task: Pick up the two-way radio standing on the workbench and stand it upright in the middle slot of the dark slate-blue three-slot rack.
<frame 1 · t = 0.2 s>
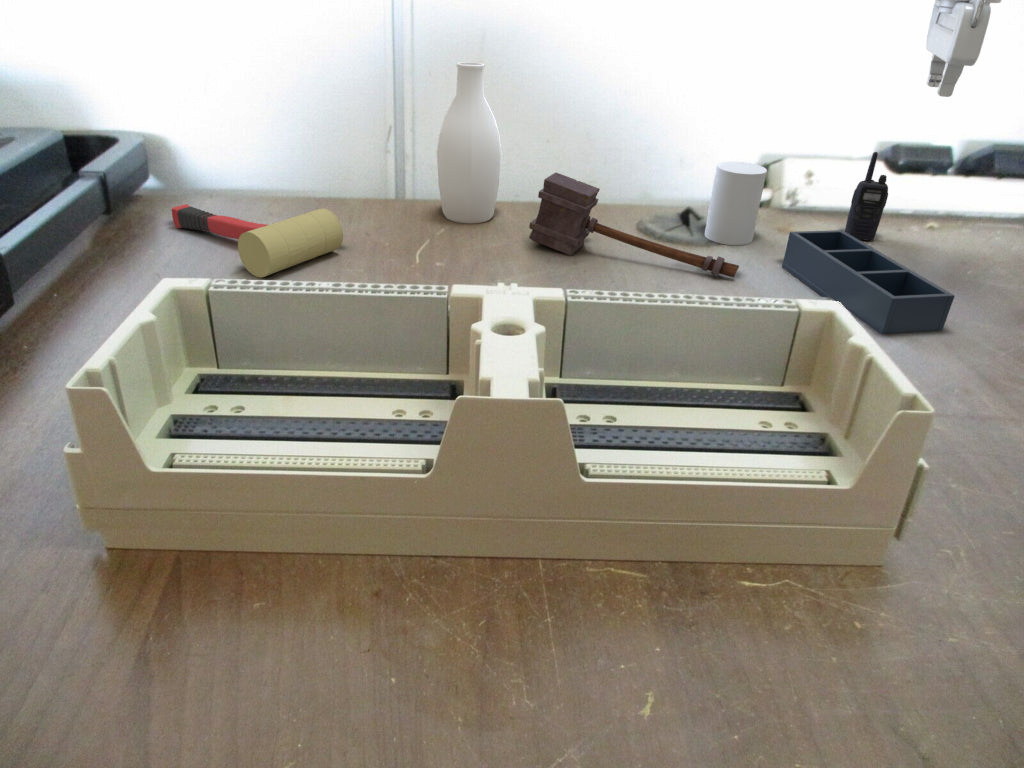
hand: (937, 91, 114), 26 cm above the table, tool pointing down, fingers open, 8 cm apart
two-way radio: (857, 238, 136), on the table
bottle: (468, 217, 137), on the table
rack: (854, 298, 111), on the table
hammer: (630, 261, 121), on the table
white cylinder: (728, 238, 133), on the table
mallet: (242, 246, 120), on the table
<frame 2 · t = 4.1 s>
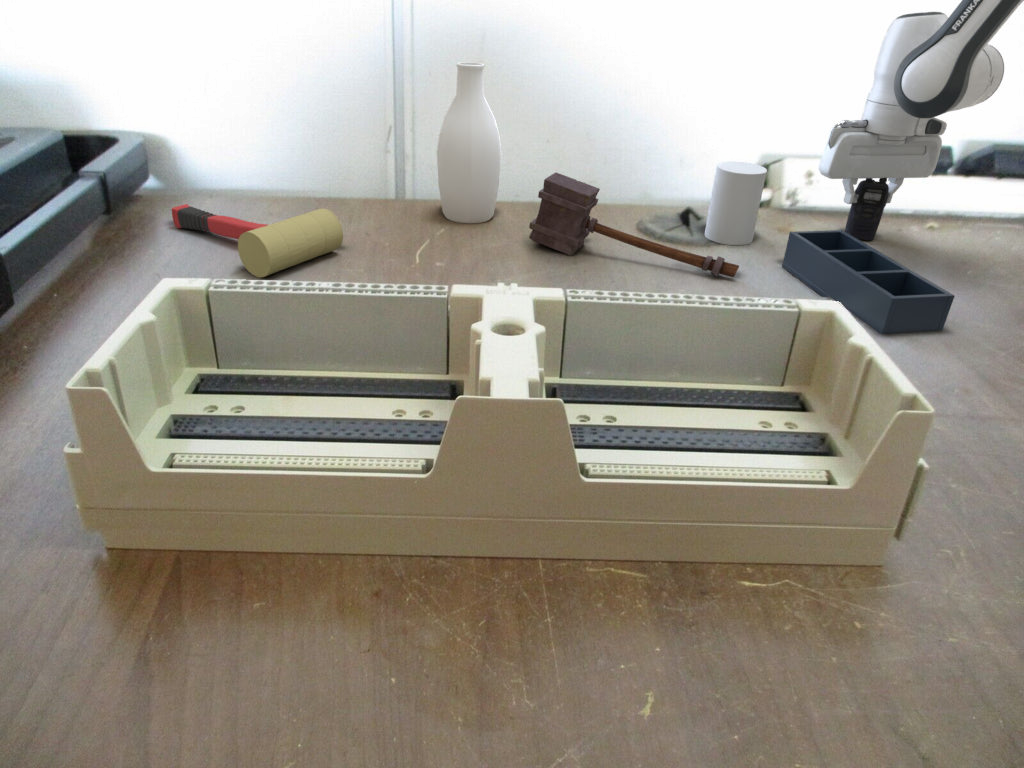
hand: (866, 202, 133), 6 cm above the table, tool pointing down, fingers closed on two-way radio, 5 cm apart
two-way radio: (857, 238, 136), on the table, touching gripper
everything else where it was.
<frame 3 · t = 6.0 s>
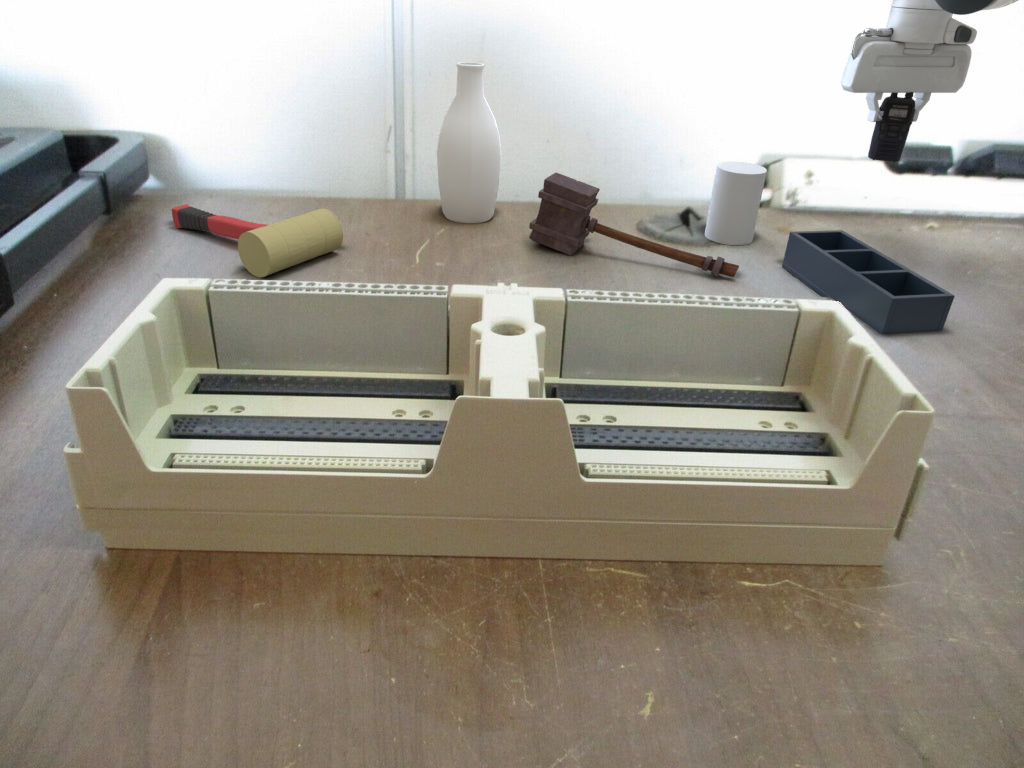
hand: (891, 121, 126), 20 cm above the table, tool pointing down, fingers closed on two-way radio, 5 cm apart
two-way radio: (882, 160, 129), point 14 cm above the table, touching gripper
everything else where it was.
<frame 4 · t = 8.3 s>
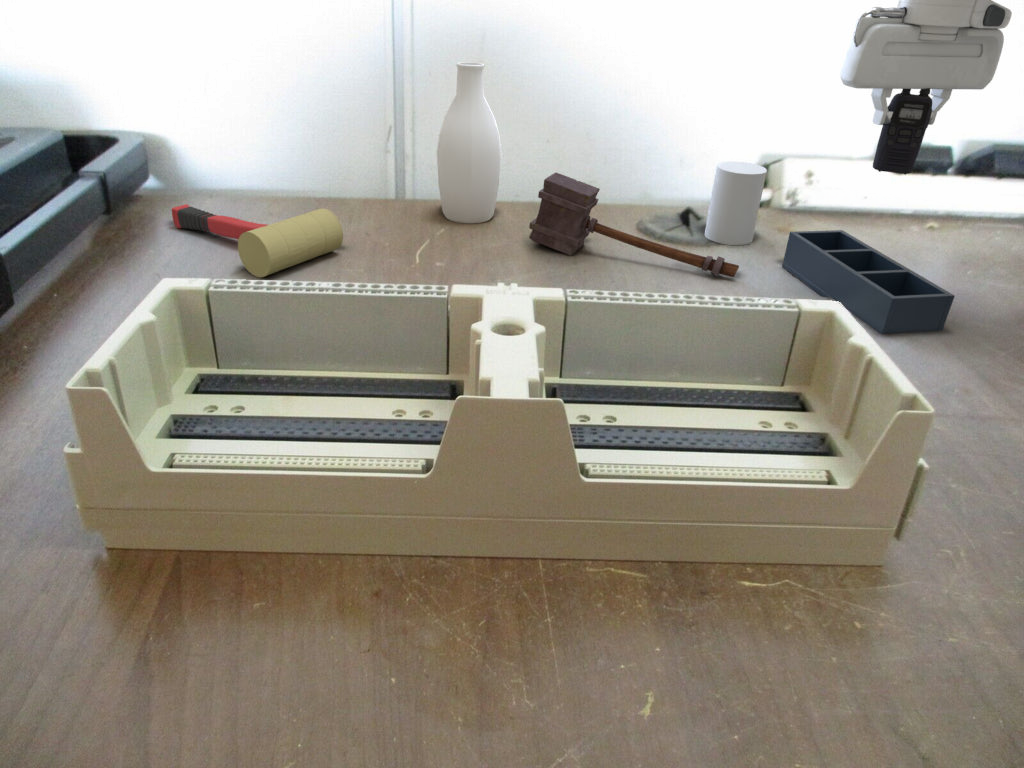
hand: (902, 124, 102), 24 cm above the table, tool pointing down, fingers closed on two-way radio, 5 cm apart
two-way radio: (889, 172, 105), point 18 cm above the table, touching gripper
everything else where it was.
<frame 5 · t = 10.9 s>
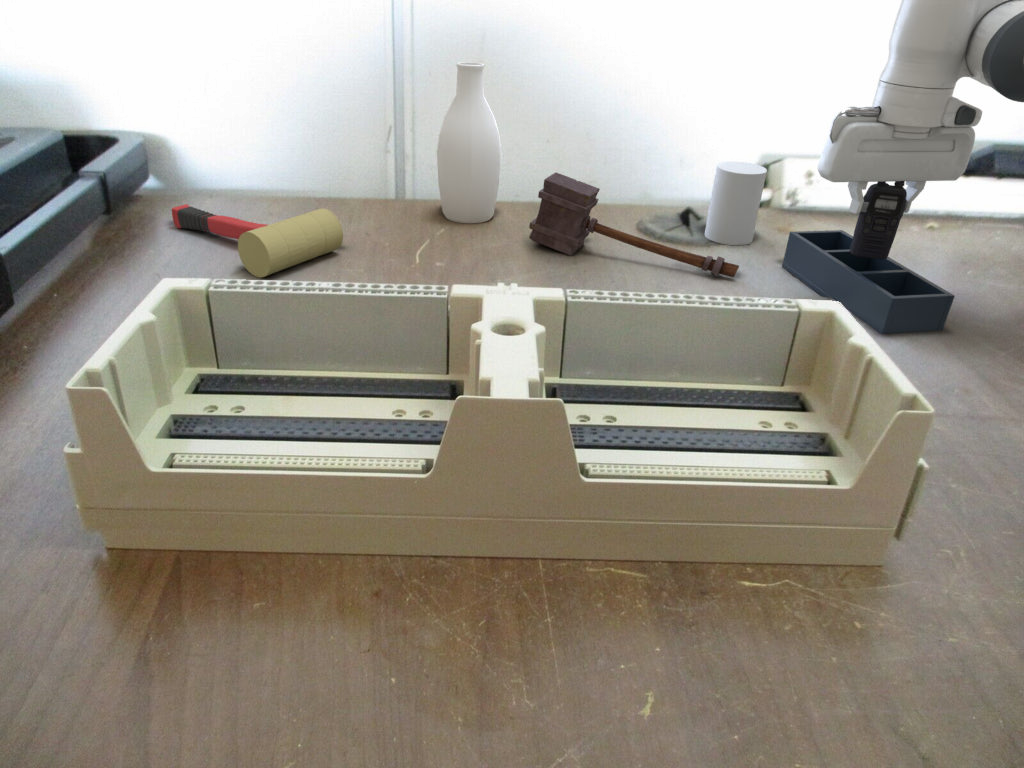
hand: (878, 212, 105), 13 cm above the table, tool pointing down, fingers closed on two-way radio, 5 cm apart
two-way radio: (866, 256, 108), point 6 cm above the table, touching gripper
everything else where it was.
when the fingers open (7 cm above the table, at t = 12.7 s): two-way radio stays where it is, resting on rack.
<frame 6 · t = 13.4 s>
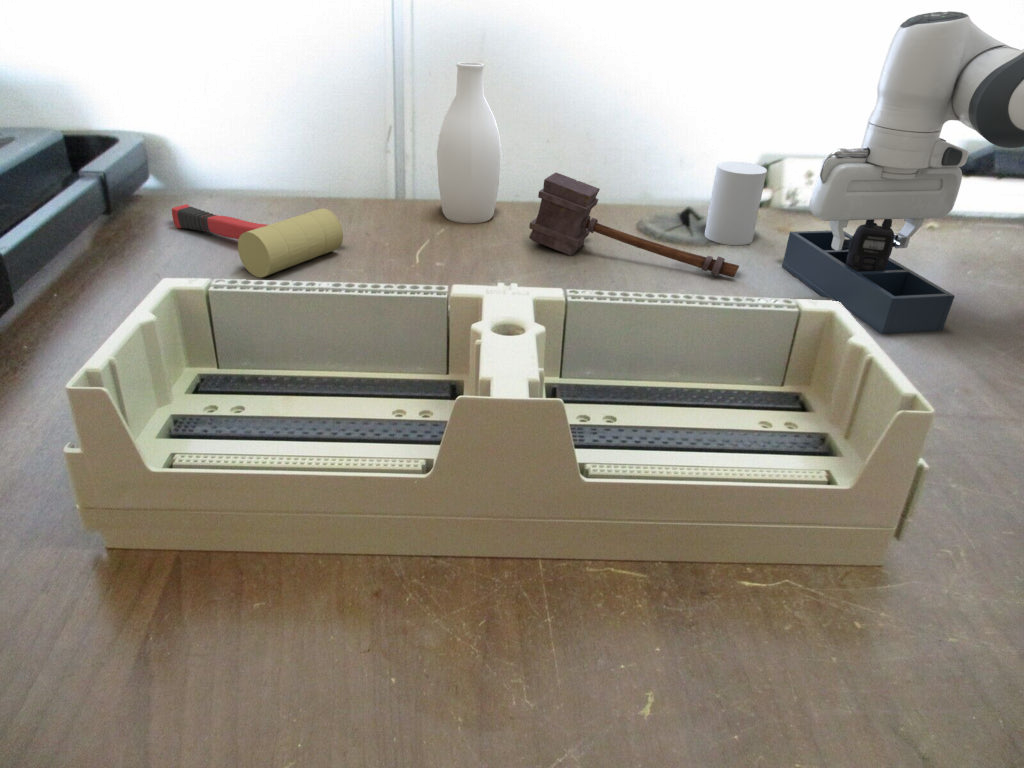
hand: (868, 248, 108), 8 cm above the table, tool pointing down, fingers open, 8 cm apart
two-way radio: (856, 293, 111), point 1 cm above the table, touching rack
everything else where it was.
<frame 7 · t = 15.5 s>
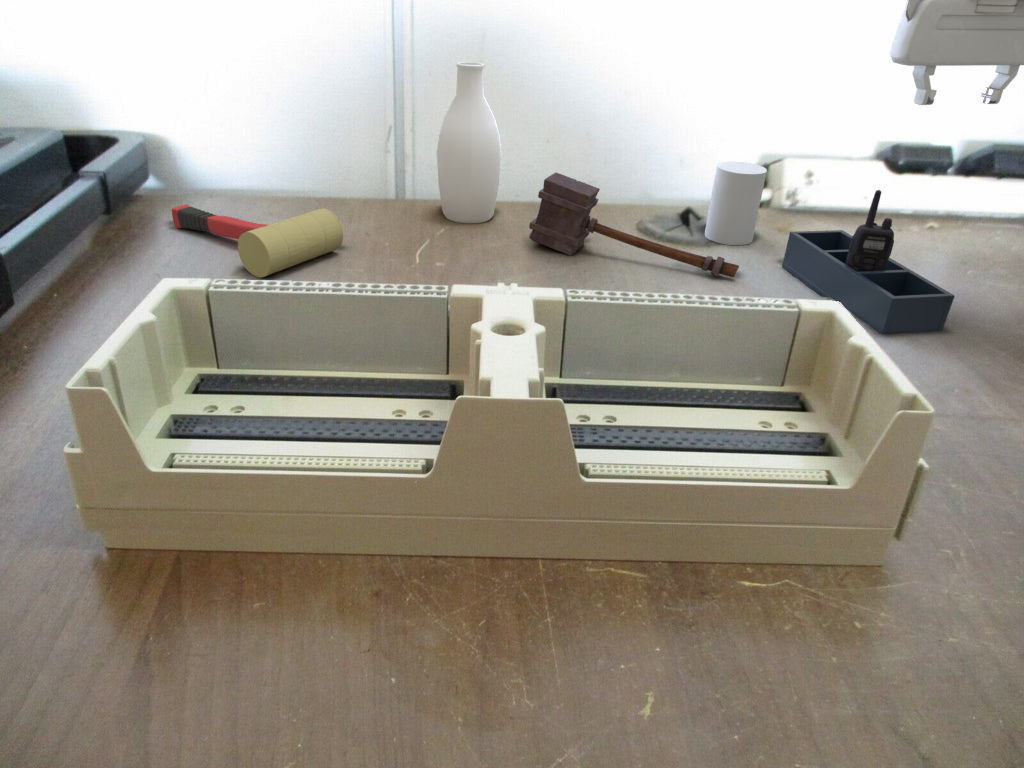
hand: (955, 103, 96), 28 cm above the table, tool pointing down, fingers open, 8 cm apart
nothing on the table moved.
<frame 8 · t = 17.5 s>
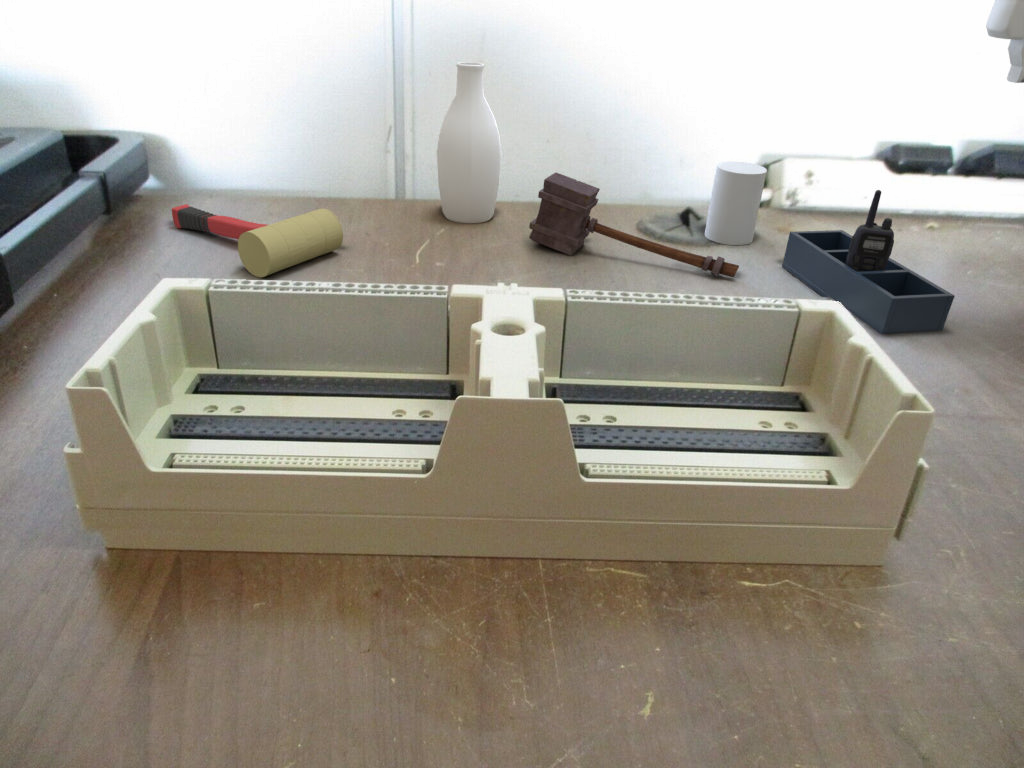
nothing on the table moved.
at the end: two-way radio 0.2 cm off-centre in the rack, point 0.8 cm above the rack's base; two-way radio tilted 0°; the gripper is holding nothing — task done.
